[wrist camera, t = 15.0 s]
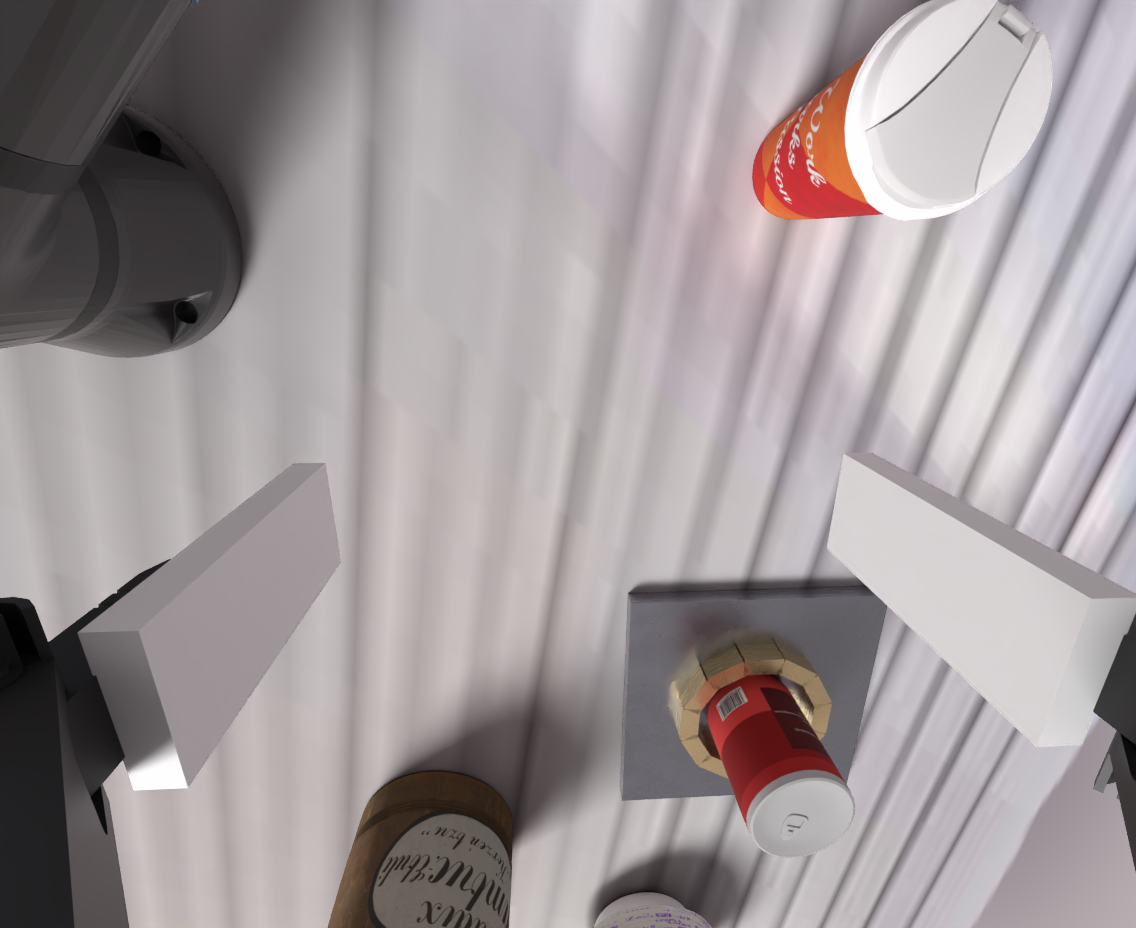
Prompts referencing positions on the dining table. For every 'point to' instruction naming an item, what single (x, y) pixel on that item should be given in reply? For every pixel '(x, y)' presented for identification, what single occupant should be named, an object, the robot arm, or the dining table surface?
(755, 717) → the canned food
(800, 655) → the collar plate
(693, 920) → the paper bowls
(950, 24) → the coffee cup
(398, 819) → the wooden container
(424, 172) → the dining table surface
